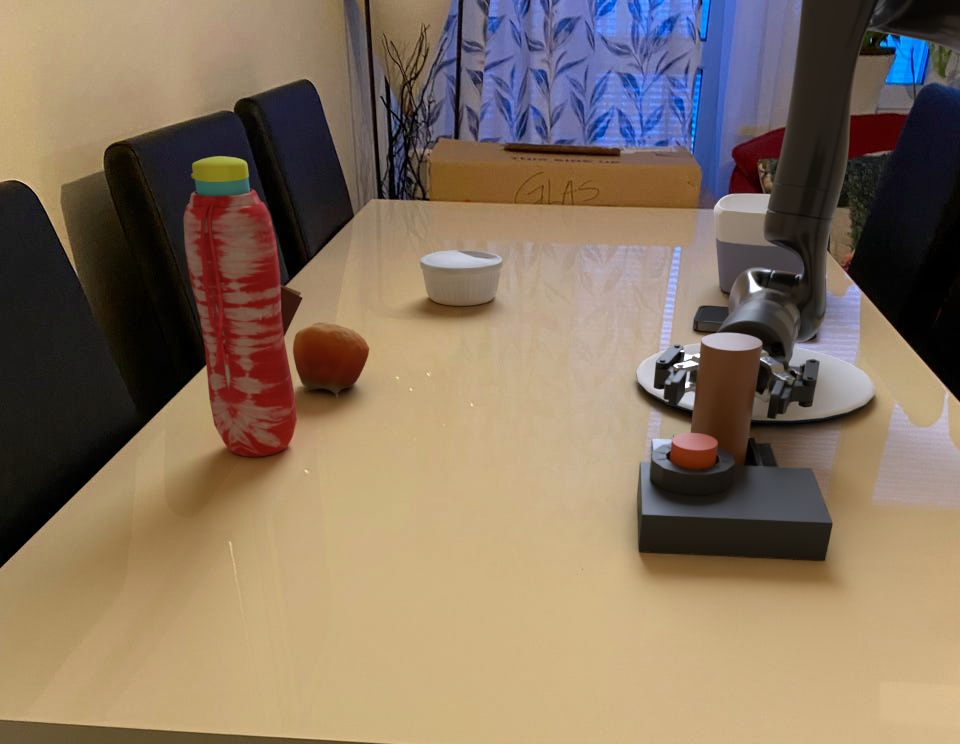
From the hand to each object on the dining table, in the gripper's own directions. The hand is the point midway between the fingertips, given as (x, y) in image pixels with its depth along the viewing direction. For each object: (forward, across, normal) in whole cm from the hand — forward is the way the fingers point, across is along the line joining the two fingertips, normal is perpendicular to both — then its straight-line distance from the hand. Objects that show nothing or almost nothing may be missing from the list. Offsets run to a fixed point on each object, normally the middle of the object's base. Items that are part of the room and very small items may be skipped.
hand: (722, 401), depth 85 cm
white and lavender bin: (-66, -6, +7) cm, 67 cm away
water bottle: (+8, -42, +7) cm, 43 cm away
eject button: (+9, 0, +2) cm, 9 cm away
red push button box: (+10, +3, +6) cm, 13 cm away
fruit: (-8, -43, +7) cm, 44 cm away
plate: (-24, 0, +7) cm, 25 cm away
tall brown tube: (0, 0, +6) cm, 6 cm away
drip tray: (0, 0, +6) cm, 7 cm away
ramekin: (-46, -44, +7) cm, 64 cm away
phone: (-46, -4, +7) cm, 47 cm away
